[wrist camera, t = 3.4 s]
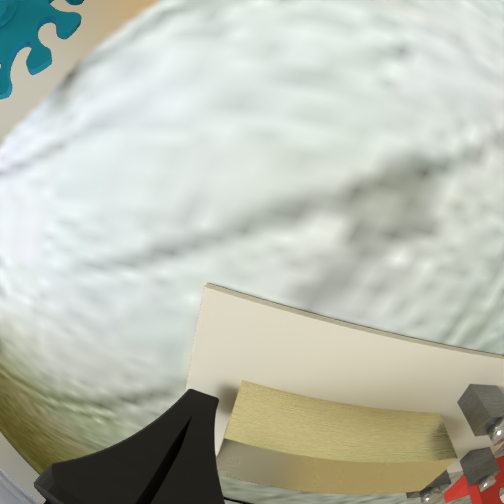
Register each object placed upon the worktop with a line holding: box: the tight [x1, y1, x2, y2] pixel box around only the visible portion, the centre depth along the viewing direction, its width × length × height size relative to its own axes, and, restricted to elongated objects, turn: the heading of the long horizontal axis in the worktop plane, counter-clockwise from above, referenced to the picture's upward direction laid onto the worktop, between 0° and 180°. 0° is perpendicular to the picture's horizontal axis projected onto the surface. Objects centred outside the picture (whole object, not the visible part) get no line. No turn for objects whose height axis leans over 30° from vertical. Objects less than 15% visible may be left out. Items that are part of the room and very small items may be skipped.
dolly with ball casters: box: [406, 384, 504, 504], centre depth 8 cm, size 7×8×3 cm
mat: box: [185, 283, 504, 473], centre depth 10 cm, size 10×23×1 cm, turn 76°
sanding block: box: [216, 380, 458, 494], centre depth 9 cm, size 3×10×3 cm, turn 76°
